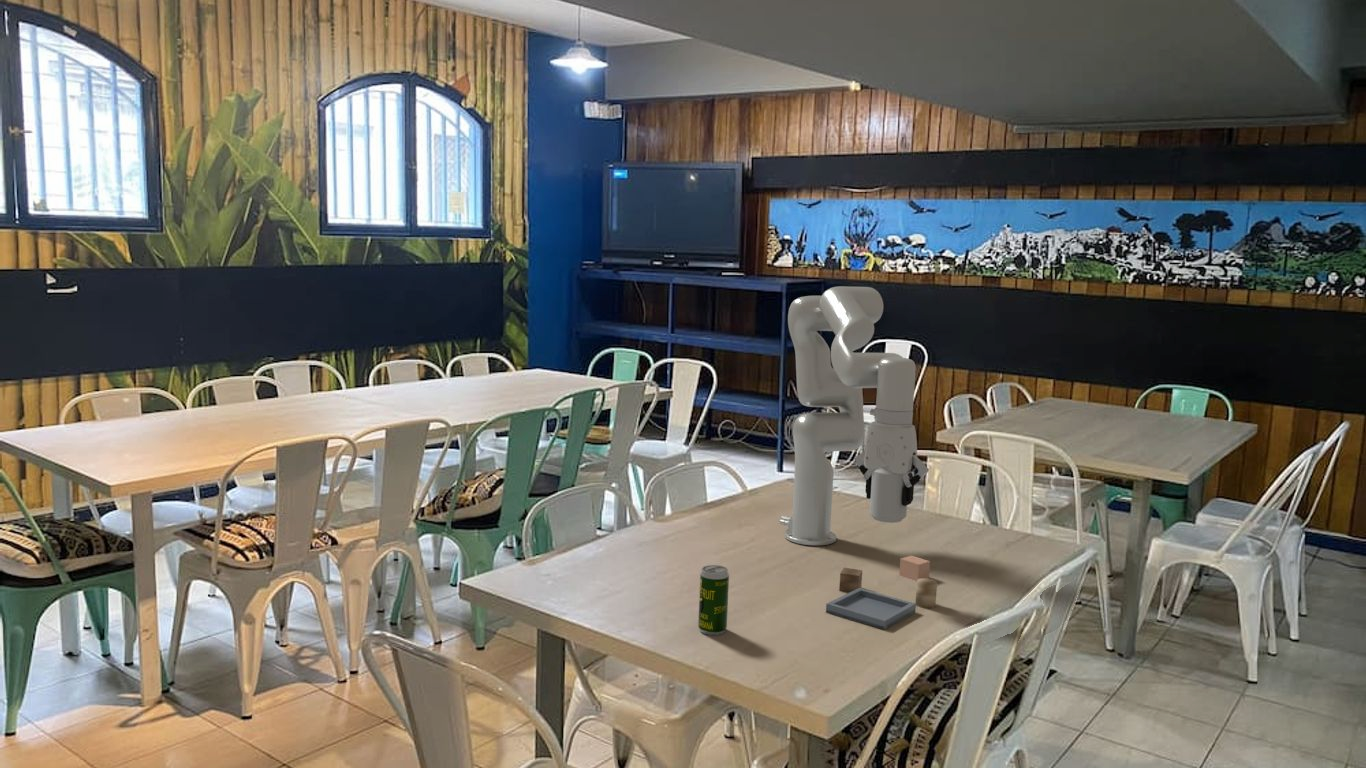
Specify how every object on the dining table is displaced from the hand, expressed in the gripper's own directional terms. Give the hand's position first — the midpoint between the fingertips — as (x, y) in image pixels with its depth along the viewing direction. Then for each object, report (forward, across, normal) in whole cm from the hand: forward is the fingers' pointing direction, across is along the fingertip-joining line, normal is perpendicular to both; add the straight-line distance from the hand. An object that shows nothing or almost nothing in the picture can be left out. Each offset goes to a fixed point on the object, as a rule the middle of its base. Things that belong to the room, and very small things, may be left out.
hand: (888, 500), depth 214 cm
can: (+4, 0, 0) cm, 4 cm away
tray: (+20, +3, -11) cm, 23 cm away
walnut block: (+20, -7, -2) cm, 22 cm away
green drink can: (+21, -15, -41) cm, 48 cm away
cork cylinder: (+20, +9, +1) cm, 22 cm away
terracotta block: (+20, 0, +15) cm, 26 cm away
